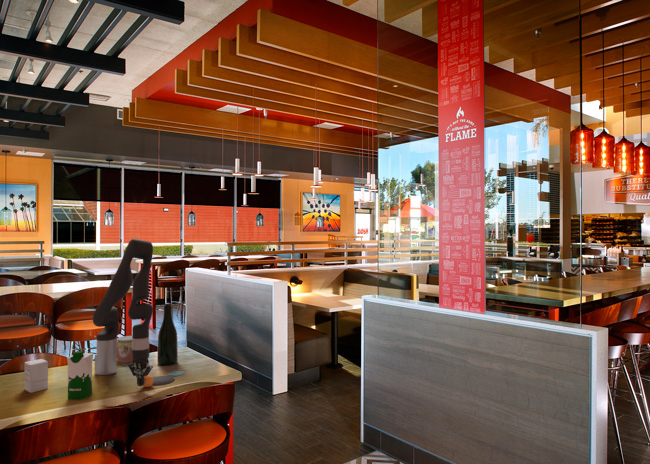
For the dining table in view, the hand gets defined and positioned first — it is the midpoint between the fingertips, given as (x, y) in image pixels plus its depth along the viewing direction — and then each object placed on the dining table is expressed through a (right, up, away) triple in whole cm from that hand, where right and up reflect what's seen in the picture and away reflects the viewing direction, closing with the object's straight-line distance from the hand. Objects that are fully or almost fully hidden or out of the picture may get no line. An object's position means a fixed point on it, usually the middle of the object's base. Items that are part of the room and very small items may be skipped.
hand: (140, 385), depth 207 cm
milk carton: (-22, -2, -9) cm, 24 cm away
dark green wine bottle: (-2, -2, +41) cm, 42 cm away
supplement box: (-47, -2, 0) cm, 47 cm away
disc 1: (+4, -2, +12) cm, 13 cm away
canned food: (-27, -2, +50) cm, 57 cm away
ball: (+2, +1, +3) cm, 4 cm away
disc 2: (+9, -2, +23) cm, 25 cm away
